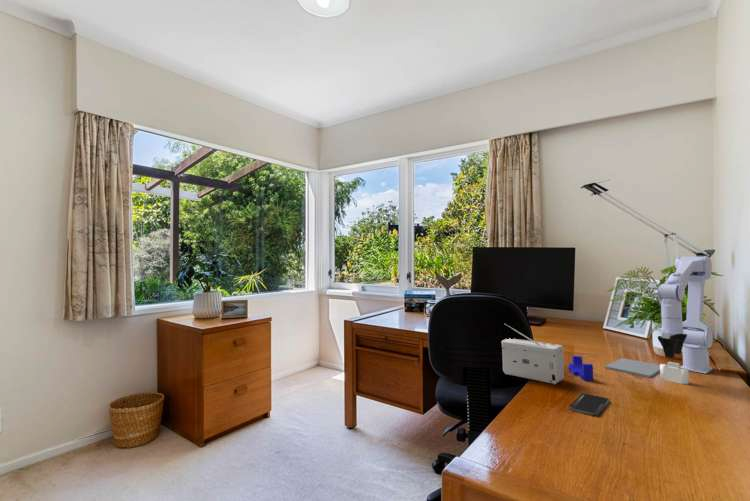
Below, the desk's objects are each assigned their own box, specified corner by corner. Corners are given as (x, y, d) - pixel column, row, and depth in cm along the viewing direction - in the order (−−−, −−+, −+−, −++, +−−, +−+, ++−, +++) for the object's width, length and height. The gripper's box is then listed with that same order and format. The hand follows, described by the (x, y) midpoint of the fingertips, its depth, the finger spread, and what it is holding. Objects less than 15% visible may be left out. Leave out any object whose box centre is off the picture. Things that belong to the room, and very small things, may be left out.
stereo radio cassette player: (565, 380, 131) (563, 325, 132) (558, 386, 125) (556, 329, 126) (509, 369, 146) (507, 320, 146) (500, 374, 140) (498, 323, 140)
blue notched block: (568, 370, 142) (568, 355, 143) (581, 371, 142) (580, 355, 142) (579, 381, 131) (579, 364, 131) (593, 381, 130) (592, 365, 130)
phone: (568, 407, 107) (582, 392, 118) (568, 411, 107) (582, 396, 118) (598, 414, 101) (610, 398, 112) (598, 418, 101) (610, 402, 112)
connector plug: (662, 377, 132) (661, 359, 132) (690, 383, 125) (689, 364, 125) (659, 379, 130) (658, 361, 130) (687, 385, 123) (686, 366, 124)
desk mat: (622, 360, 153) (622, 358, 153) (665, 368, 141) (665, 366, 141) (604, 368, 144) (604, 366, 144) (649, 377, 131) (649, 375, 131)
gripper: (664, 313, 135) (666, 349, 135) (650, 318, 127) (652, 356, 127) (688, 316, 130) (690, 353, 129) (675, 321, 121) (677, 361, 121)
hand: (673, 355), depth 128 cm, fingers open, 7 cm apart
